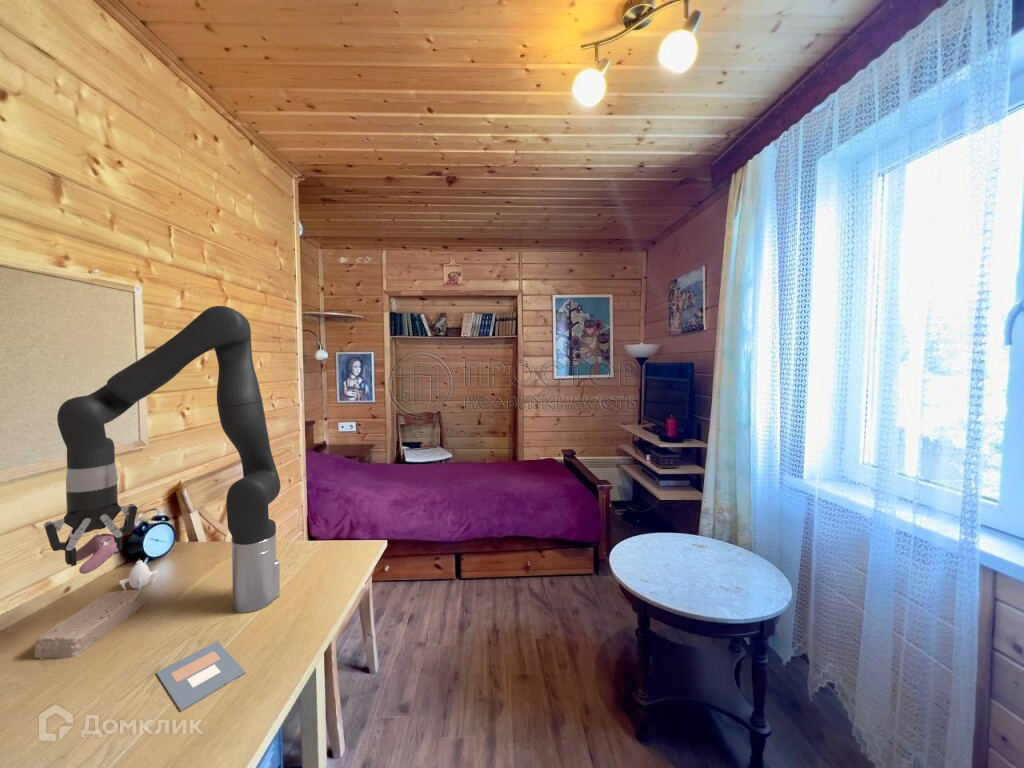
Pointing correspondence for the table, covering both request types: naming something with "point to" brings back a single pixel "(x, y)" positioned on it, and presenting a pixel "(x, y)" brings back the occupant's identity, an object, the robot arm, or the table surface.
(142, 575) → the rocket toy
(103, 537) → the video game controller
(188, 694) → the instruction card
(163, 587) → the table surface
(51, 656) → the brick
